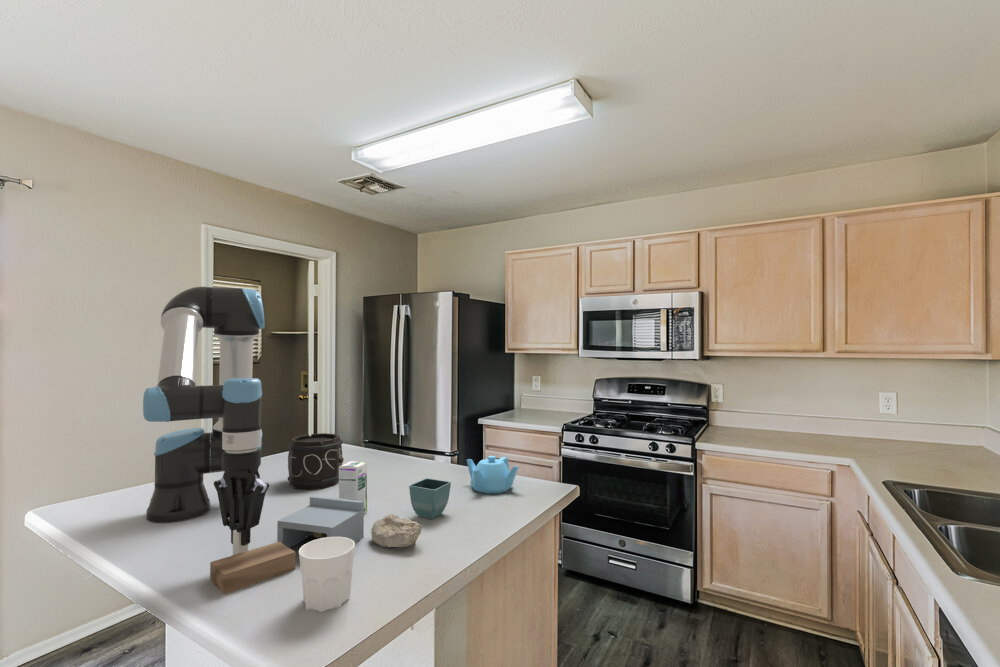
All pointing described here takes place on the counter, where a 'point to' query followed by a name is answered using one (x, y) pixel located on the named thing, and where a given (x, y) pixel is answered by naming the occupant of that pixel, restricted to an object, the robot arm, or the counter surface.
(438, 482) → the flower pot
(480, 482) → the teapot
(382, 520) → the stone
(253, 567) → the board
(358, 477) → the syrup box
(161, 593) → the counter surface
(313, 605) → the cup
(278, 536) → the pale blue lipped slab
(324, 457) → the coffee canister
